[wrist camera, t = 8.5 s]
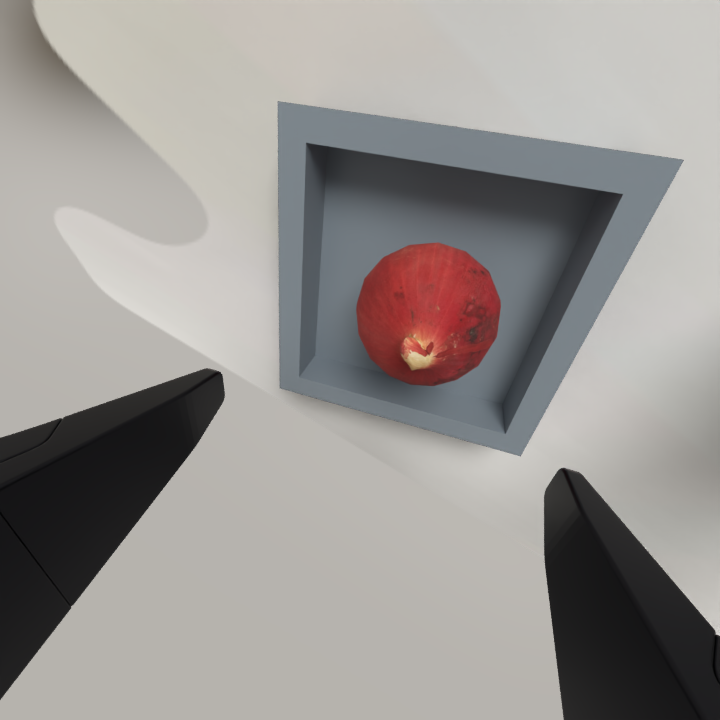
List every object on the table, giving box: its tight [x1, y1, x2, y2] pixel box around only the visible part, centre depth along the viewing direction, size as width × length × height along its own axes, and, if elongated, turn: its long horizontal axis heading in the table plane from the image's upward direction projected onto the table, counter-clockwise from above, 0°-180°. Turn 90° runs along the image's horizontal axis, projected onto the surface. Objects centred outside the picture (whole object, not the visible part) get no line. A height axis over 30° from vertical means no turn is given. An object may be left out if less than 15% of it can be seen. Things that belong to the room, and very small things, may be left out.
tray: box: [278, 101, 684, 456], centre depth 18 cm, size 14×14×4 cm
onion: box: [356, 242, 501, 386], centre depth 15 cm, size 6×6×8 cm
